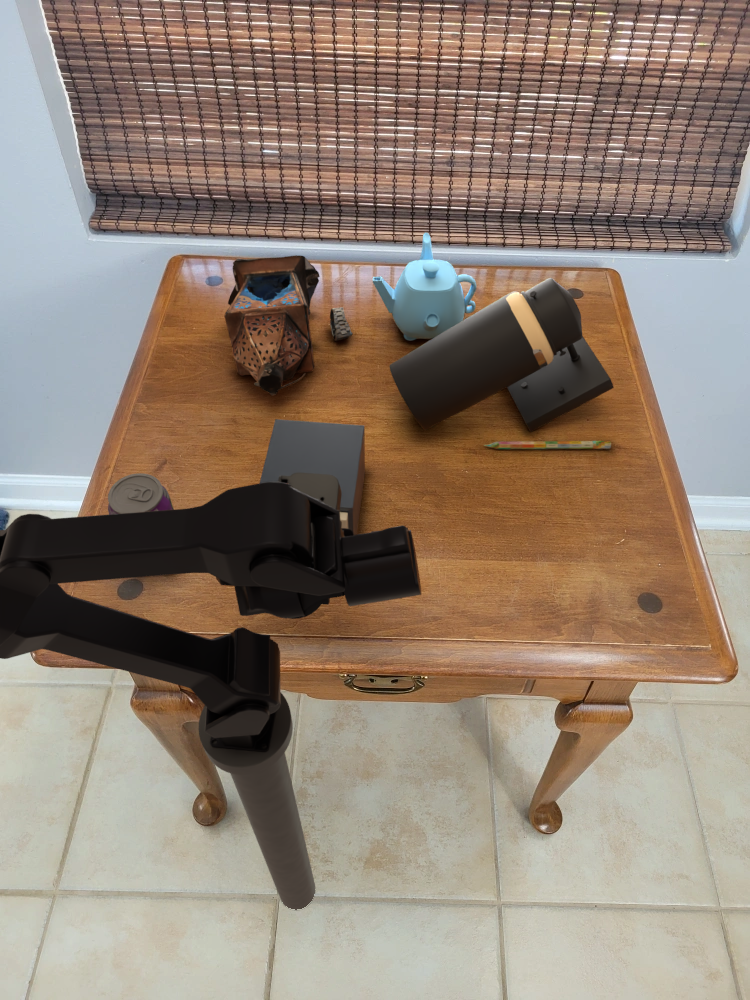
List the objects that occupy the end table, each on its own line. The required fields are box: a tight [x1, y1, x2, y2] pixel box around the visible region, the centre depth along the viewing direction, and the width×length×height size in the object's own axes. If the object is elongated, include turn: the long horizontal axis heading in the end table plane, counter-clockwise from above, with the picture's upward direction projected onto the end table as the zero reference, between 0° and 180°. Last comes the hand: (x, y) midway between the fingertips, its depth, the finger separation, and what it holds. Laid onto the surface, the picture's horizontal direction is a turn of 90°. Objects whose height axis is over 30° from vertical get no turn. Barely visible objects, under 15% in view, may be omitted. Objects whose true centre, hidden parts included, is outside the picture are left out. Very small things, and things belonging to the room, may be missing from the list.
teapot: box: [372, 232, 477, 342], centre depth 122 cm, size 15×14×11 cm
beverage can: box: [107, 472, 175, 515], centre depth 93 cm, size 7×7×12 cm
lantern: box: [223, 255, 320, 396], centre depth 116 cm, size 16×16×25 cm
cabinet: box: [259, 418, 366, 535], centre depth 98 cm, size 14×12×10 cm
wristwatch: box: [329, 306, 353, 342], centre depth 123 cm, size 3×5×5 cm
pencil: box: [483, 440, 612, 450], centre depth 109 cm, size 1×1×18 cm
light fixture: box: [388, 277, 615, 433], centre depth 108 cm, size 13×18×26 cm
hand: (324, 545), depth 83 cm, fingers closed
